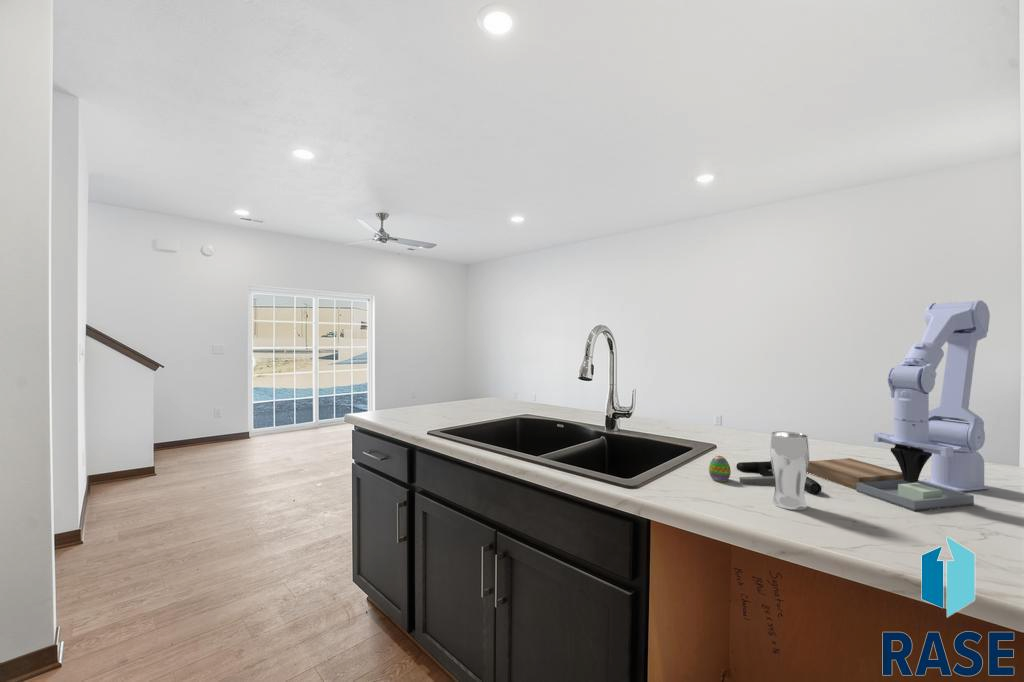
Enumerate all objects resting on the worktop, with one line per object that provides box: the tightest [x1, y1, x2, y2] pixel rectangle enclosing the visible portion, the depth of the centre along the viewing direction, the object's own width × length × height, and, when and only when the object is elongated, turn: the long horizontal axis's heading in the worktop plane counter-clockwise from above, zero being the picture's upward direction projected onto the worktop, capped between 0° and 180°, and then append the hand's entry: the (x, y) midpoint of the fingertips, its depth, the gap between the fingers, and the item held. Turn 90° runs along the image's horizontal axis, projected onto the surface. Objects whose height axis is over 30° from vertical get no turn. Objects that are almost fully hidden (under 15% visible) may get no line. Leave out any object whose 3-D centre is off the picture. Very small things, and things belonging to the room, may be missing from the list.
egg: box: [708, 455, 731, 483], centre depth 109 cm, size 5×5×6 cm
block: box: [898, 483, 942, 500], centre depth 95 cm, size 5×5×2 cm
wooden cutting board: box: [807, 457, 904, 491], centre depth 110 cm, size 14×14×3 cm
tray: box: [856, 479, 975, 512], centre depth 97 cm, size 16×12×2 cm
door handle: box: [735, 460, 824, 495], centre depth 109 cm, size 3×20×16 cm
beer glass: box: [769, 430, 810, 512], centre depth 92 cm, size 7×7×15 cm
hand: (910, 481), depth 97 cm, fingers closed
